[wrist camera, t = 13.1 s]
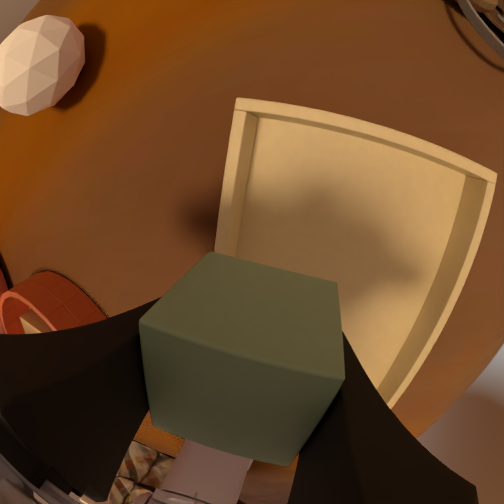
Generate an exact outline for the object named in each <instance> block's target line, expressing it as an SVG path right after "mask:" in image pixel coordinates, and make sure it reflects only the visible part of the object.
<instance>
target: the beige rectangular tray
mask: <svg viewBox="0 0 504 504" xmlns="http://www.w3.org/2000/svg"><path fill="white" fill-rule="evenodd" d="M496 179H497V173H496V172H494V171H492V170H490V169H488V168H486V167H484V166H482V165H480V164H478V163H476V162H474V161H472V160H470V159H468V158H466V157H463V156H461V155H459V154H457V153H454V152H452V151H450V150H448V149H445V148H443V147H440V146H438V145H435V144H433V143H430V142H428V141H425V140H422V139H420V138H417V137H414V136H412V135H409V134H406V133H403V132H400V131H397V130H394V129H391V128H388V127H384V126H381V125H378V124H374V123H371V122H368V121H364V120H360V119H357V118H353V117H349V116H345V115H341V114H336V113H332V112H328V111H323V110H318V109H313V108H308V107H303V106H297V105H292V104H286V103H279V102H272V101H265V100H257V99H248V98H239V97H238V98H236V103H235V110H234V114H233V120H232V126H231V133H230V139H229V145H228V152H227V158H226V165H225V172H224V179H223V186H222V193H221V201H220V208H219V216H218V224H217V232H216V240H215V248H214V252H215V253H219V254H223V255H227V256H231V257H235V258H239V259H243V260H247V261H251V262H255V263H259V264H263V265H267V266H271V267H275V268H280V269H284V270H288V271H292V272H296V273H300V274H304V275H308V276H313V277H317V278H321V279H325V280H329V281H333V282H336V283H337V285H338V294H339V303H340V313H341V324H342V331H343V332H344V334H345V336H346V338H347V339H348V341H349V343H350V345H351V347H352V349H353V351H354V352H355V354H356V356H357V358H358V360H359V362H360V363H361V365H362V367H363V369H364V370H365V372H366V374H367V375H368V377H369V379H370V380H371V382H372V383H373V385H374V386H375V388H376V389H377V391H378V392H379V394H380V395H381V397H382V398H383V400H384V401H385V403H386V404H387V405H388V407H389V408H390V409H391V408H392V407H393V406H394V404H395V403H396V402H397V400H398V399H399V398H400V396H401V395H402V393H403V392H404V391H405V389H406V388H407V386H408V385H409V383H410V382H411V381H412V379H413V378H414V376H415V375H416V373H417V371H418V370H419V368H420V367H421V365H422V364H423V362H424V360H425V359H426V357H427V356H428V354H429V352H430V351H431V349H432V347H433V345H434V344H435V342H436V340H437V338H438V337H439V335H440V333H441V331H442V329H443V327H444V325H445V323H446V322H447V320H448V318H449V316H450V314H451V312H452V310H453V307H454V305H455V303H456V301H457V299H458V297H459V295H460V292H461V290H462V288H463V285H464V283H465V281H466V278H467V276H468V273H469V271H470V268H471V266H472V263H473V260H474V258H475V255H476V252H477V249H478V247H479V244H480V241H481V237H482V234H483V231H484V228H485V225H486V221H487V218H488V214H489V210H490V206H491V202H492V198H493V194H494V190H495V184H496Z"/></svg>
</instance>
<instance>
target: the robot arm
mask: <svg viewBox="0 0 504 504" xmlns="http://www.w3.org/2000/svg"><path fill="white" fill-rule="evenodd" d="M160 298H161V297H160ZM160 298H158V299H156V300H153V301H151V302H149V303H146V304H144V305H142V306H139V307H137V308H135V309H132V310H129V311H127V312H124V313H121V314H119V315H116V316H113V317H110V318H108V319H105V320H101V321H98V322H95V323H91V324H87V325H83V326H79V327H75V328H70V329H64V330H58V331H51V332H44V333H33V334H0V504H42V503H41V502H39V501H38V500H36V499H35V498H34V495H33V491H34V492H35V493H37V494H38V495H39V496H40V497H41V498H43V499H44V500H45V501H46V502H48V503H49V504H80V503H78V502H77V501H75V500H74V499H73V498H71V497H70V496H68V495H69V493H70V492H71V491H72V492H73V493H75V494H76V495H77V496H79V497H82V496H83V494H84V495H85V496H87V497H88V498H90V499H91V500H93V501H95V502H105V501H107V499H108V496H109V493H110V490H111V488H112V485H113V483H114V480H115V478H116V475H117V473H118V471H119V468H120V466H121V464H122V462H123V459H124V457H125V455H126V453H127V451H128V449H129V447H130V445H131V443H132V440H133V438H134V436H135V434H136V433H137V431H138V429H139V427H140V425H141V423H142V421H143V419H144V417H145V416H146V414H147V412H148V411H149V403H148V397H147V391H146V384H145V377H144V369H143V361H142V352H141V343H140V331H139V320H140V318H141V317H142V316H143V315H144V314H145V313H146V312H147V311H148V310H149V309H150V308H151V307H152V306H153V305H154V304H155V303H156V302H157V301H158V300H159V299H160ZM342 336H343V350H344V366H345V380H344V381H343V383H342V385H341V387H340V389H339V390H338V392H337V394H336V396H335V397H334V399H333V401H332V402H331V404H330V406H329V407H328V409H327V411H326V412H325V414H324V416H323V417H322V419H321V420H320V422H319V424H318V425H317V427H316V428H315V430H314V431H313V433H312V434H311V436H310V437H309V439H308V440H307V442H306V443H305V445H304V446H303V447H302V449H301V450H300V452H299V457H298V463H297V468H296V472H295V476H294V481H293V485H292V489H291V492H290V496H289V500H288V503H287V504H479V503H478V497H477V491H476V486H474V485H473V484H471V483H470V482H468V481H467V480H465V479H464V478H462V477H461V476H459V475H458V474H456V473H455V472H453V471H452V470H450V469H449V468H448V467H447V466H445V465H444V464H443V463H442V462H441V461H439V460H438V459H437V458H436V457H435V456H433V455H432V454H431V453H430V452H429V451H428V450H427V449H426V448H425V447H424V446H422V445H421V444H420V442H419V441H417V439H416V438H415V437H414V436H413V435H412V434H411V433H410V432H409V431H408V430H407V429H406V428H405V427H404V425H403V424H402V423H401V422H400V421H399V419H398V418H397V417H396V416H395V414H394V413H393V412H392V411H391V409H390V408H389V407H388V405H387V404H386V403H385V401H384V400H383V398H382V397H381V395H380V394H379V392H378V391H377V389H376V388H375V386H374V385H373V383H372V382H371V380H370V379H369V377H368V375H367V374H366V372H365V370H364V369H363V367H362V365H361V363H360V362H359V360H358V358H357V356H356V354H355V352H354V351H353V349H352V347H351V345H350V343H349V341H348V339H347V338H346V336H345V334H344V332H343V331H342ZM252 462H253V459H249V458H245V457H241V456H237V455H233V454H230V453H226V452H223V451H220V450H216V449H213V448H210V447H207V446H204V445H201V444H198V443H195V442H193V441H190V440H187V439H185V440H184V442H183V444H182V446H181V448H180V450H179V452H178V454H177V456H176V458H175V460H174V462H173V464H172V466H171V468H170V470H169V472H168V474H167V476H166V478H165V480H164V482H163V484H162V486H161V488H160V489H158V488H156V490H155V492H154V494H152V493H150V492H146V493H143V494H140V495H138V496H137V497H136V498H135V500H134V501H133V502H132V504H237V501H238V498H239V495H240V492H241V489H242V485H243V482H244V479H245V476H246V473H247V471H248V470H249V468H250V466H251V464H252Z"/></svg>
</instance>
